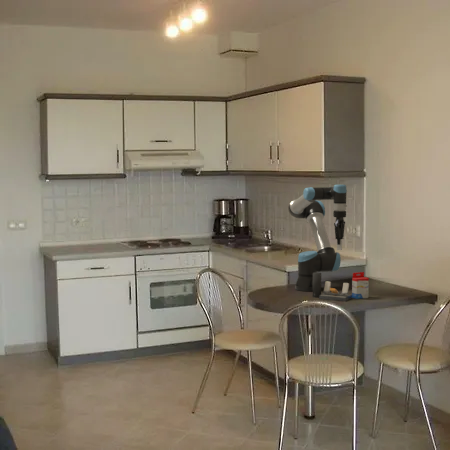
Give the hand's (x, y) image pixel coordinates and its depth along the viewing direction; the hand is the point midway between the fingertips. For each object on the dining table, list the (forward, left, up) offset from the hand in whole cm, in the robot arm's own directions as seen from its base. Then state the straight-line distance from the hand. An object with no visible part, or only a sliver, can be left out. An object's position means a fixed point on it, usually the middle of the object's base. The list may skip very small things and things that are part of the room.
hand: (339, 249), depth 425 cm
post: (-8, -16, -26) cm, 32 cm away
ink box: (+16, -7, -27) cm, 32 cm away
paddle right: (+9, -16, -23) cm, 29 cm away
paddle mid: (+4, -16, -23) cm, 28 cm away
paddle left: (-2, -16, -23) cm, 28 cm away
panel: (+4, -16, -26) cm, 31 cm away
